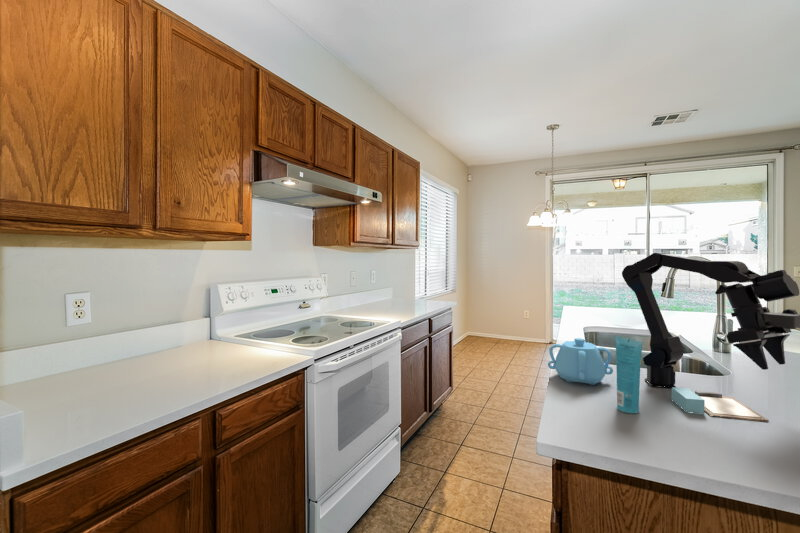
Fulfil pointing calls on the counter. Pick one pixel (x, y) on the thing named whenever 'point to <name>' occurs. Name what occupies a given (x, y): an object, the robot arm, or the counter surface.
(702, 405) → the light blue block
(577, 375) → the decorative pot
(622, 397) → the tube
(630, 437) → the counter surface
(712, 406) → the clipboard
